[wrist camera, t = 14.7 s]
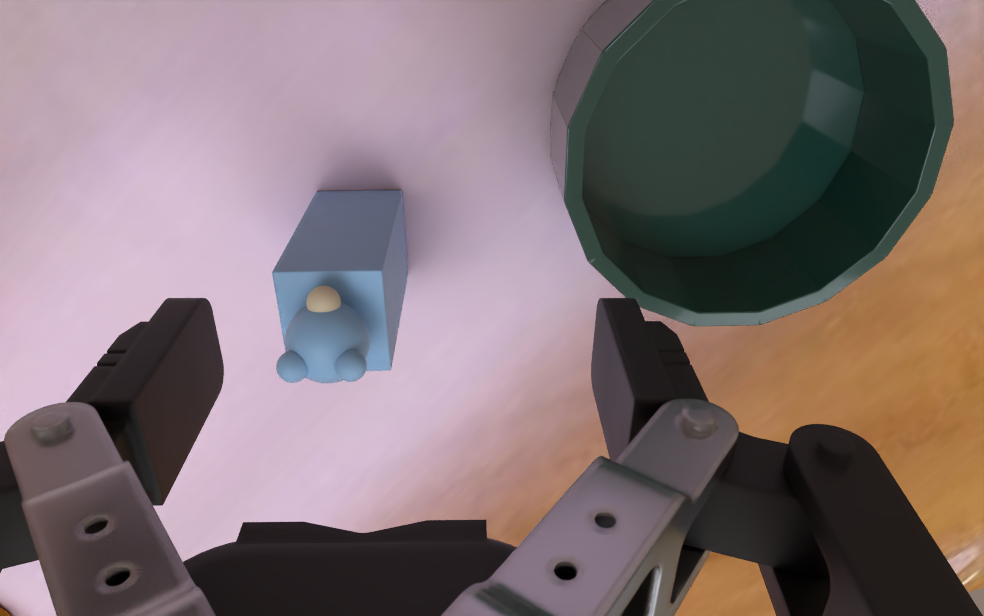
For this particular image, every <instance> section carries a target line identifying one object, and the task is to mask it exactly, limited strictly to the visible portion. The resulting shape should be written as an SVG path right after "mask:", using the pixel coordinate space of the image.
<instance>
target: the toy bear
mask: <svg viewBox="0 0 984 616" xmlns="http://www.w3.org/2000/svg"><path fill="white" fill-rule="evenodd" d="M272 274H273V280H274V286H275V292H276V297H277V303H278V309H279V315H280V321H281V326H282V332H283V338H284V344H285V350H286V353H284V354H283V355H282V356H281V357H280V358H279V359H278V361H277V366H276V368H277V373H278V375H279V376H280V377H281V378H282V379H283V380H284V381H286V382H290V383H294V382H299V381H301V380H302V379H304V378H307V379H309V380H312V381H315V382H319V383H334V382H339V381H342V380H345V381H349V382H351V381H356V380H358V379H360V378H361V377H362V376H363V375H364V373H365V371H380V370H391V367H392V361H393V355H394V350H395V344H396V338H397V333H398V327H399V321H400V316H401V310H402V304H403V299H404V293H405V287H406V282H407V276H408V266H407V252H406V238H405V223H404V209H403V195H402V190H373V191H317V192H316V194H315V196H314V198H313V199H312V201H311V203H310V205H309V207H308V208H307V210H306V212H305V214H304V216H303V217H302V219H301V221H300V223H299V225H298V227H297V228H296V230H295V232H294V234H293V236H292V237H291V239H290V241H289V243H288V245H287V247H286V248H285V250H284V252H283V254H282V256H281V257H280V259H279V261H278V263H277V265H276V267H275V268H274V270H273V272H272Z"/></svg>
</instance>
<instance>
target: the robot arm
mask: <svg viewBox="0 0 984 616" xmlns="http://www.w3.org/2000/svg"><path fill="white" fill-rule="evenodd" d="M223 376H224V367H223V360H222V355H221V350H220V345H219V340H218V335H217V331H216V326H215V321H214V316H213V311H212V307H211V304H210V302H209V301H208V300H207V299H206V298H168V299H166V300H165V301H164V302H163V304H162V305H161V306H160V308H159V309H158V310H157V311H156V313H155V314H154V315H153V317H152V318H151V319H150V321H149V322H140V323H138V324H137V325H135V326H133V327H132V328H130V329H129V330H127V331H126V332H124V333H122V334H121V335H119V337H118V338H117V339H116V340H115V342H114V343H113V344H112V345H111V347H110V348H109V349H108V350H107V354H104V355H103V356H102V358H101V359H100V360H99V361H98V363H97V366H94V368H93V369H92V370H91V371H90V373H89V374H88V375H87V376H86V378H85V379H84V380H83V381H82V383H81V384H80V385H79V386H78V388H77V389H76V390H75V391H74V393H73V394H72V395H71V396H70V398H69V399H68V400H67V401H66V402H65V403H58V404H53V405H49V406H46V407H43V408H40V409H37V410H35V411H33V412H31V413H29V414H27V415H25V416H24V417H22V418H21V419H19V420H18V421H16V422H15V423H14V424H13V425H12V426H11V427H10V428H9V430H8V431H7V433H6V435H5V438H4V441H2V442H0V573H1V571H2V569H4V568H8V567H12V566H16V565H20V564H24V563H28V562H32V561H36V560H39V561H40V564H41V568H42V571H43V574H44V577H45V580H46V583H47V586H48V589H49V593H50V596H51V599H52V602H53V605H54V608H55V611H56V615H57V616H674V615H675V613H676V612H677V610H678V608H679V606H680V605H681V603H682V601H683V599H684V598H685V596H686V594H687V592H688V591H689V589H690V587H691V586H692V584H693V582H694V580H695V579H696V577H697V575H698V573H699V572H700V570H701V568H702V567H703V565H704V563H705V561H706V560H707V558H708V556H709V554H710V552H711V551H712V552H716V553H720V554H724V555H727V556H731V557H735V558H739V559H743V560H747V561H751V562H755V563H758V565H759V568H760V571H761V574H762V576H763V579H764V582H765V585H766V588H767V590H768V593H769V596H770V599H771V602H772V604H773V607H774V610H775V613H776V616H983V615H982V614H981V612H980V611H979V609H978V608H977V606H976V604H975V603H974V601H973V600H972V598H971V597H970V595H969V594H968V592H967V590H966V589H965V587H964V586H963V584H962V583H961V581H960V580H959V578H958V577H957V575H956V573H955V572H954V570H953V569H952V567H951V566H950V564H949V563H948V561H947V559H946V558H945V556H944V555H943V553H942V552H941V550H940V549H939V547H938V546H937V544H936V542H935V541H934V539H933V538H932V536H931V535H930V533H929V532H928V530H927V529H926V527H925V525H924V524H923V522H922V521H921V519H920V518H919V516H918V515H917V513H916V511H915V510H914V508H913V507H912V505H911V504H910V502H909V501H908V499H907V498H906V496H905V494H904V493H903V491H902V490H901V488H900V487H899V485H898V484H897V482H896V480H895V479H894V477H893V476H892V474H891V473H890V471H889V470H888V468H887V467H886V465H885V463H884V462H883V460H882V459H881V457H880V456H879V454H878V453H877V451H876V450H875V449H874V447H873V446H872V445H870V444H869V443H868V442H867V441H866V440H864V439H863V438H861V437H860V436H858V435H856V434H854V433H852V432H850V431H848V430H845V429H843V428H839V427H836V426H831V425H824V424H811V425H805V426H802V427H800V428H798V429H796V430H795V431H794V432H793V433H792V435H791V437H790V440H789V444H785V443H780V442H775V441H771V440H766V439H761V438H757V437H753V436H749V435H747V434H744V433H741V432H739V428H738V424H737V422H736V420H735V419H734V418H733V416H732V415H731V414H730V413H728V412H727V411H726V410H724V409H723V408H721V407H719V406H717V405H715V404H713V403H710V402H709V401H708V399H707V397H706V395H705V393H704V391H703V388H702V386H701V384H700V382H699V380H698V378H697V376H696V374H695V372H694V369H693V367H692V365H690V361H689V359H688V357H687V355H686V353H684V348H683V346H682V344H681V342H680V340H679V338H678V336H677V334H676V333H674V332H673V331H672V330H671V329H669V328H668V327H667V326H666V325H665V324H663V323H662V322H661V321H645V320H644V317H643V315H642V312H641V310H640V308H639V305H638V303H637V301H636V299H635V298H600V299H599V301H598V304H597V311H596V321H595V332H594V342H593V352H592V364H591V377H592V388H593V393H594V397H595V401H596V405H597V409H598V413H599V417H600V421H601V425H602V429H603V433H604V437H605V441H606V445H607V449H608V453H609V457H610V459H607V458H605V457H603V456H600V457H598V458H596V459H595V460H594V461H593V462H592V463H591V464H590V465H589V466H588V468H587V469H586V470H585V471H584V472H583V473H582V474H581V476H580V477H579V478H578V479H577V480H576V481H575V482H574V483H573V485H572V486H571V487H570V488H569V489H568V490H567V491H566V492H565V494H564V495H563V496H562V497H561V498H560V499H559V500H558V502H557V503H556V504H555V505H554V506H553V507H552V508H551V509H550V511H549V512H548V513H547V514H546V515H545V516H544V517H543V518H542V520H541V521H540V522H539V523H538V524H537V525H536V526H535V527H534V529H533V530H532V531H531V532H530V533H529V534H528V535H527V537H526V538H525V539H524V540H523V541H522V542H521V543H520V544H519V546H518V547H515V546H512V545H510V544H507V543H504V542H500V541H497V540H493V539H488V538H487V531H486V520H427V521H422V522H417V523H412V524H408V525H403V526H398V527H393V528H389V529H384V530H379V531H374V532H369V533H357V532H352V531H347V530H342V529H337V528H332V527H327V526H322V525H317V524H312V523H307V522H243V525H242V527H241V530H240V533H239V536H238V538H237V541H236V542H232V543H228V544H225V545H221V546H218V547H215V548H212V549H210V550H207V551H205V552H202V553H200V554H198V555H196V556H194V557H192V558H190V559H188V560H186V561H184V562H182V560H181V558H180V556H179V554H178V552H177V550H176V549H175V547H174V545H173V543H172V541H171V539H170V537H169V535H168V534H167V532H166V530H165V528H164V526H163V524H162V522H161V520H160V519H159V517H158V515H157V513H156V511H155V509H154V507H153V505H163V504H164V502H165V500H166V498H167V496H168V494H169V492H170V490H171V488H172V486H173V484H174V482H175V480H176V478H177V476H178V474H179V472H180V470H181V468H182V466H183V464H184V462H185V460H186V458H187V456H188V454H189V452H190V451H191V449H192V447H193V445H194V443H195V441H196V439H197V437H198V435H199V433H200V431H201V429H202V427H203V425H204V423H205V421H206V419H207V417H208V415H209V413H210V411H211V409H212V407H213V405H214V403H215V401H216V399H217V397H218V395H219V393H220V391H221V388H222V384H223Z"/></svg>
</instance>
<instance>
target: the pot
mask: <svg viewBox="0 0 984 616" xmlns="http://www.w3.org/2000/svg"><path fill="white" fill-rule="evenodd" d="M953 122H954V117H953V107H952V98H951V88H950V78H949V69H948V59H947V50H946V47H945V45H944V43H943V42H942V40H941V39H940V37H939V36H938V34H937V33H936V31H935V30H934V28H933V27H932V25H931V24H930V22H929V21H928V19H927V18H926V16H925V15H924V13H923V12H922V10H921V9H920V7H919V6H918V4H917V3H916V1H915V0H605V2H604V3H603V4H602V5H601V6H600V7H599V8H598V10H597V11H596V12H595V13H594V14H593V15H592V17H591V18H590V19H589V20H588V22H587V23H586V24H585V25H584V26H583V28H582V29H581V30H580V33H579V35H578V37H577V38H576V40H575V42H574V44H573V46H572V48H571V50H570V52H569V53H568V55H567V57H566V59H565V62H564V65H563V67H562V70H561V73H560V76H559V78H558V81H557V85H556V87H555V90H554V92H553V99H552V113H551V123H550V125H551V161H552V164H553V168H554V171H555V174H556V177H557V180H558V184H559V187H560V190H561V193H562V196H563V199H564V202H565V205H566V208H567V210H568V213H569V215H570V218H571V220H572V223H573V225H574V228H575V230H576V233H577V235H578V238H579V240H580V243H581V246H582V248H583V251H584V253H585V256H586V258H587V261H588V262H589V263H590V264H591V265H592V266H593V267H594V268H595V269H596V270H597V271H598V272H599V273H600V274H601V275H602V276H604V277H605V278H606V279H607V280H608V281H609V282H610V283H611V284H612V285H613V286H614V287H615V288H616V289H617V290H618V291H619V292H620V293H621V294H623V295H624V296H625V297H626V298H635V299H636V301H637V303H638V305H639V307H641V308H644V309H646V310H649V311H652V312H655V313H657V314H660V315H663V316H666V317H669V318H671V319H674V320H677V321H680V322H682V323H685V324H688V325H691V326H738V325H759V324H760V325H761V324H764V323H767V322H770V321H773V320H775V319H778V318H781V317H784V316H787V315H790V314H792V313H795V312H798V311H801V310H804V309H807V308H809V307H812V306H815V305H818V304H821V303H824V302H825V301H828V300H829V299H830V298H832V297H833V296H835V295H836V294H837V293H839V292H840V291H841V290H843V289H844V288H845V287H847V286H848V285H849V284H851V283H852V282H853V281H855V280H856V279H858V278H859V277H860V276H862V275H863V274H864V273H866V272H867V271H868V270H870V269H871V268H872V267H874V266H875V265H876V264H878V263H879V262H881V261H882V260H883V259H885V257H887V256H888V254H889V253H890V252H891V250H892V249H893V247H894V246H895V245H896V243H897V242H898V241H899V239H900V238H901V237H902V235H903V234H904V232H905V231H906V230H907V228H908V227H909V226H910V224H911V223H912V222H913V220H914V219H915V217H916V216H917V215H918V213H919V212H920V211H921V209H922V208H923V207H924V205H925V204H926V202H927V201H928V200H929V198H930V197H931V195H932V193H933V189H934V186H935V183H936V180H937V176H938V173H939V170H940V167H941V163H942V160H943V157H944V154H945V150H946V147H947V144H948V141H949V137H950V134H951V131H952V128H953V124H954V123H953Z"/></svg>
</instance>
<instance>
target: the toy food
mask: <svg viewBox="0 0 984 616" xmlns="http://www.w3.org/2000/svg"><path fill="white" fill-rule="evenodd" d="M0 616H11V615H10V614H9V613H8V612H6V611H5V610H4V609H2V608H0Z"/></svg>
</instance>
